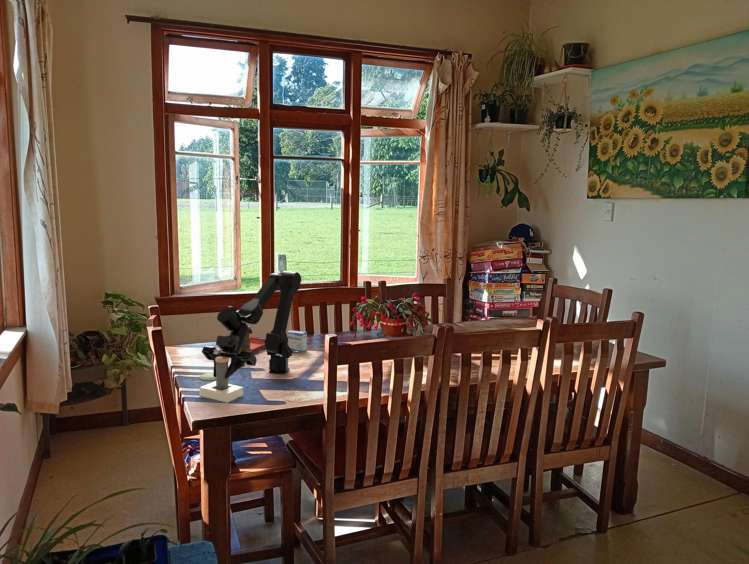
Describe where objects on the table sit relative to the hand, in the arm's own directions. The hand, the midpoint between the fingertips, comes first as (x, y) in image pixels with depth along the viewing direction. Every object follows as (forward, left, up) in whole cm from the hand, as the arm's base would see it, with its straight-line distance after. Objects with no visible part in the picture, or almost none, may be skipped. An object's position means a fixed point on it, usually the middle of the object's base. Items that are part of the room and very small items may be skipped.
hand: (220, 377), depth 199 cm
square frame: (0, -1, -7) cm, 7 cm away
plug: (0, -1, -7) cm, 7 cm away
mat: (+12, -19, -7) cm, 23 cm away
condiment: (+9, -44, -7) cm, 45 cm away
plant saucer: (+15, -61, -7) cm, 63 cm away
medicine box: (-8, -63, -7) cm, 64 cm away
